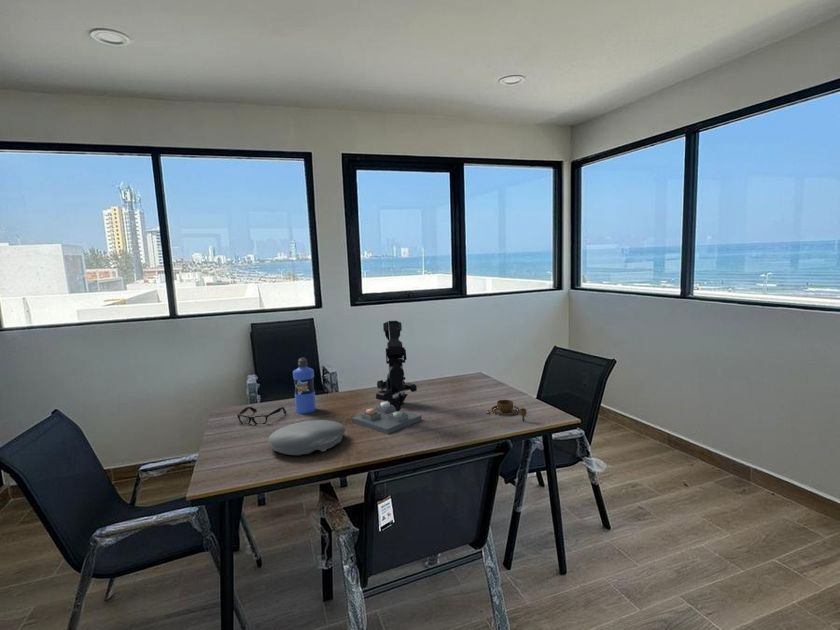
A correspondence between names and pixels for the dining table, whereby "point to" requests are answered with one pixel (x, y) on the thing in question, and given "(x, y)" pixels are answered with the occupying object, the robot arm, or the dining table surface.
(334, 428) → the grey low domed part
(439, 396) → the dining table surface
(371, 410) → the terracotta button
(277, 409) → the glasses
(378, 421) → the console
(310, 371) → the water bottle
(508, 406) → the place setting
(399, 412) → the sage button
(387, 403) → the ivory button
